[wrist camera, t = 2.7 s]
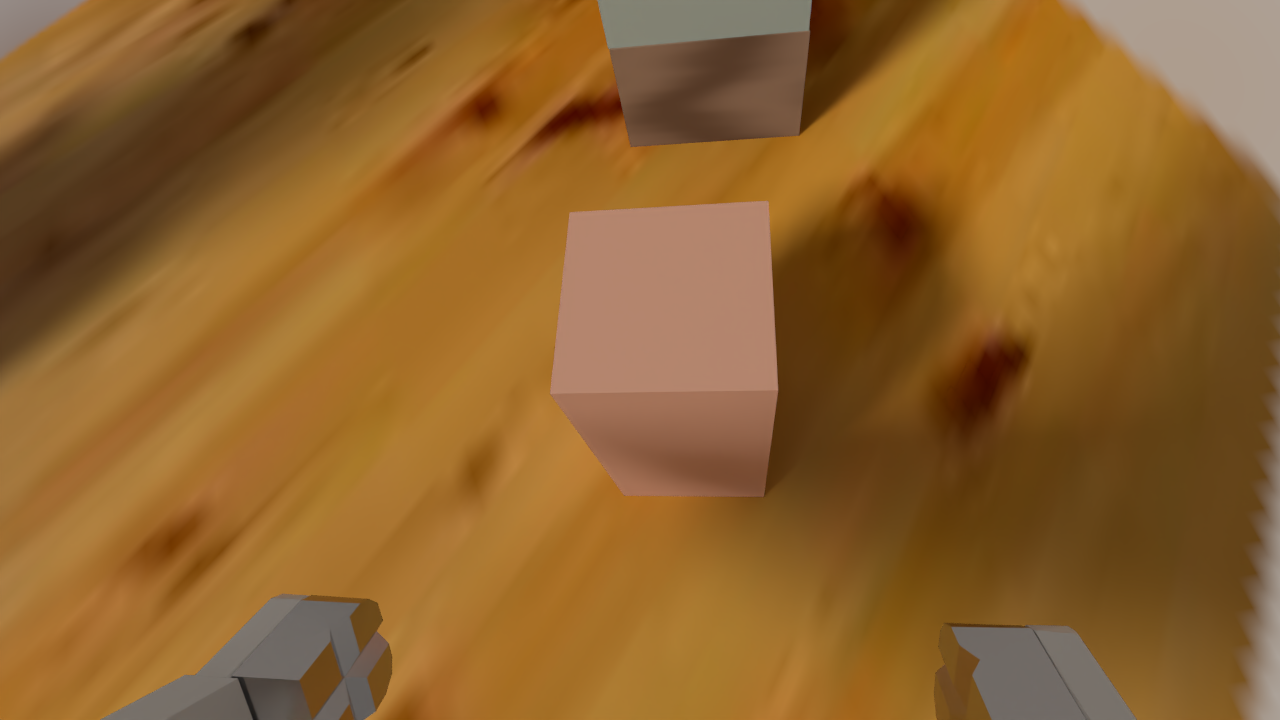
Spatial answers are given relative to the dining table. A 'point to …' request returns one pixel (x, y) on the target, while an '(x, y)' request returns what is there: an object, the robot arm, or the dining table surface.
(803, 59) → the tower base
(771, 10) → the tower top
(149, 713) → the robot arm
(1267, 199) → the dining table surface
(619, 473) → the tall block
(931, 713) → the dining table surface
